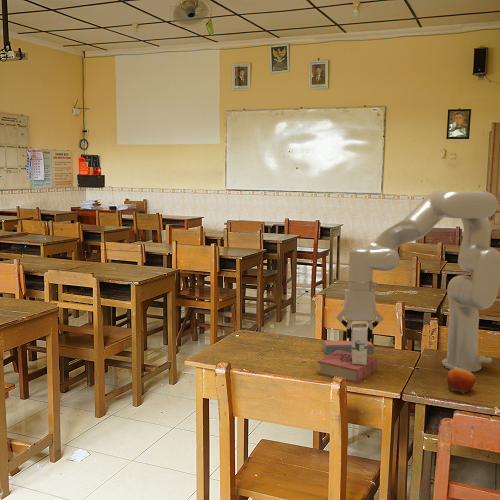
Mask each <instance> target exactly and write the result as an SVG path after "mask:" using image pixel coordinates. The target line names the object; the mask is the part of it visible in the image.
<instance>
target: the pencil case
mask: <svg viewBox="0 0 500 500" xmlns="http://www.w3.org/2000/svg"><path fill="white" fill-rule="evenodd" d="M337 350H340V351H345V352H350V353H352V340H351V341H349V340H324V341H323V342H322V351H323V352H324V354H325V355H330V354H331V353H333V352H335V351H337ZM368 354H371V355H372V354H373V355H374V354H375V345H374V344H373V343H372V342H371V341H370V342H368V340H367V355H368Z"/></svg>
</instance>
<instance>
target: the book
mask: <svg viewBox="0 0 500 500" xmlns="http://www.w3.org/2000/svg"><path fill="white" fill-rule="evenodd" d="M317 364H319V365H320V367H319V369H320V371H319V372H317V375H320V376H325V377H328V378H333V377H334V376H337V377H342V378H346V380H347V381H346V382H348V381H350V382H349V383H353V382H354V383H353V384H357V383H358V384H359V383H361V382H362V381H366V379H367V378H368V377H370V376H373V375H374V373H376V372H377V370H378V358H377V357H374V356H369V355H367V364H366V365H361V364H352V353H350V352H345V351H340V350H337V351H335V352H333V353H331V354H327V355H326V356H324V357H322V358H320V359H318V360H317ZM333 379H334V378H333ZM360 381H361V382H360Z"/></svg>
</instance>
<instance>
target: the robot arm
mask: <svg viewBox="0 0 500 500" xmlns="http://www.w3.org/2000/svg"><path fill="white" fill-rule="evenodd" d="M497 210H498V200H497V198H496V196H495V195H494V194H492V192H489V191H475V190H474V191H472V190H469V191H465V190H464V191H457V190H456V191H455V190H437V191H433V192H431V193H429V194H428V195H427V196H426V197H425V198H424V199H423V200H422V201H421V202H420V203H419V204H418V205H416V207H415V208H414V209H412V211H410V213H409V214H407V216H405V217H404V218H403V219H402V220H400V221H398V222H397V223H395V224H393V225H392V226H390V227H389V228H387V229H386V230H384V231H383V232H381V233H380V234H379V235H378V236H377V237H375V238H374V240H373V241H371V242H370V244H368V246H367V247H352V248H351V249H350V250H349V254H348V288H346V289H345V292H344V293H345V294H344V301H343V302H344V303H343V309H342V310H341V311H340V312H339V313H338V314H337V316H336V320H337V321H339V322H340V323H341V324H342V325H343V327H345V329H346V338H347V339H348V341H352V323H353V322H366V323H367V328H368V331H367V332H368V333H367V341H368V342H371V340H372V339H373V330H374V329H375V328H376V327H377V326H378V325H379V324H381V323H382V321H384V318H383V316H382V315H381V314H380V312H379V311H378V310H377V301H376V293H375V289H374V288H377V287H378V282H374V281H373V277H374V275H373V271H382V272H390V271H393V270H394V269H396V268H397V267H398V266H399V264H400V259H401V258H400V256H399V255H400V254H399V253H398V252H397V251H396V249H397V248H398V247H400V246H402V245H405V244H407V243H411V242H415V241H417V240H421V239H422V238H423V237H425V236H426V235H427V234H428V233H430V231H431V230H432V229H433V228H434V227H435V226H436V225H437V224H438V223H439V222H440V221H441V220H442V219H444V218H449V219H460V220H461V222H462V225H463V233H462V238H461V243H460V247H459V251H458V252H459V253H458V258H457V264H458V267H460V269H461V270H463V271H465V272H468V273H471V274H473V276H470V275H465V274H460V275H456V276H454V277H453V278H451V279H450V281H449V282H448V284H447V290H446V292H447V299H448V329H447V348H446V349H447V353H446V358H444V359H442V361H441V363H442V364H443V365H442V364H441V365H442V366H443V367H444V366H445V367H444V368H447V369H449V370H453V369H456V368H461V369H464V370H467V371H469V372H471V373H474V372H478V371H480V370H481V369H482V364H483V363H484V364H493V363H492V362H493V358H492V357H486V355H479V354H478V345H479V344H478V342H479V341H478V339H479V324H480V316H479V315H480V314H479V310H486V309H490V307H492V306H493V305H494V303H495V301H496V299H497V298H498V294H499V289H500V251H499V250H498V249H496V248H495V247H491V246H490V241H491V240H490V239H491V235H492V233H491V232H492V228H491V227H492V226H491V223H490V220H489V218H490V217H492V216H493V215H494V214H495V213H496V211H497ZM343 317H344V318H343ZM376 318H377V319H376Z"/></svg>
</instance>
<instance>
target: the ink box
mask: <svg viewBox="0 0 500 500" xmlns="http://www.w3.org/2000/svg"><path fill="white" fill-rule="evenodd" d="M351 330H352V333H351V341H352V364H361V365H366V364H367V356H368V354H367V341H368V340H367V333H368V332H367V331H368V322H352V324H351Z"/></svg>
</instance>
